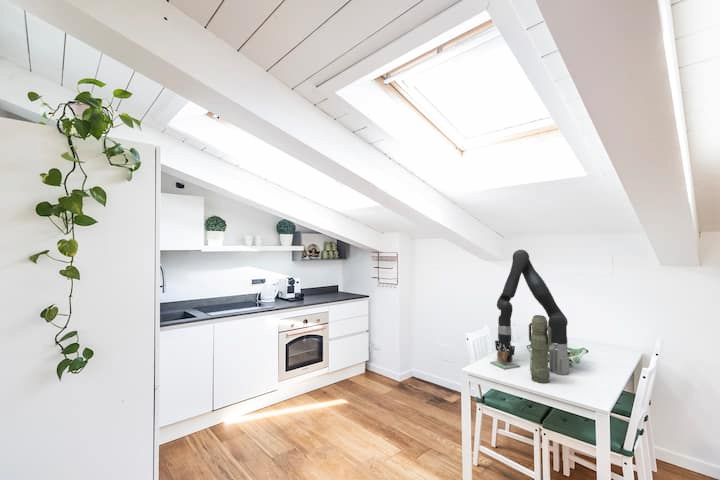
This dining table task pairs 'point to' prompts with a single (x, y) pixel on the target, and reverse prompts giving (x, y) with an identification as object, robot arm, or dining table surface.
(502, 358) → the walnut block
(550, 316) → the robot arm
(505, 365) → the coaster
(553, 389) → the dining table surface
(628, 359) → the dining table surface
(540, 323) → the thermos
